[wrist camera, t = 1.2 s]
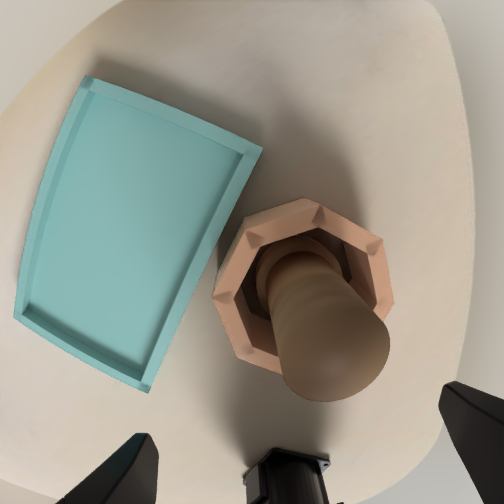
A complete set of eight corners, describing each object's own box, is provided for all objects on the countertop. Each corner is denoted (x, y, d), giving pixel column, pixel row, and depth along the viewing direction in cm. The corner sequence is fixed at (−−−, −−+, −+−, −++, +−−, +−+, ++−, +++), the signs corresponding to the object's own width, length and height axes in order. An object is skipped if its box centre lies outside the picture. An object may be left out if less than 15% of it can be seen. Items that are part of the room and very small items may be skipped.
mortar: (385, 243, 20) (418, 261, 16) (319, 355, 22) (334, 392, 18) (264, 177, 19) (270, 177, 15) (200, 305, 21) (190, 338, 17)
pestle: (348, 257, 20) (424, 322, 11) (309, 323, 21) (352, 421, 12) (278, 221, 20) (313, 267, 10) (241, 293, 21) (242, 388, 11)
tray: (261, 150, 19) (263, 148, 17) (154, 378, 22) (148, 393, 20) (98, 82, 17) (85, 75, 15) (26, 307, 21) (13, 317, 19)
